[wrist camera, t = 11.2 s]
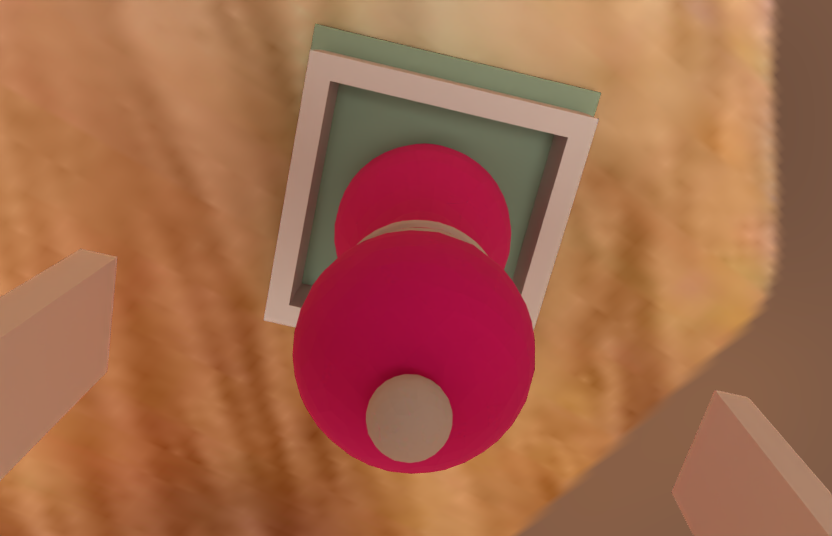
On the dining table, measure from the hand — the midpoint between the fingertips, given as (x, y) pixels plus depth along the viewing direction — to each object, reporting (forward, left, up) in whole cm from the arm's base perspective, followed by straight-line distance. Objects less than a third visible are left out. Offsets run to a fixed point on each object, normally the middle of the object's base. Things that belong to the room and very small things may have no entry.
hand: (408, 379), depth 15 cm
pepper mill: (0, 0, -18) cm, 18 cm away
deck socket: (0, 0, -19) cm, 19 cm away
